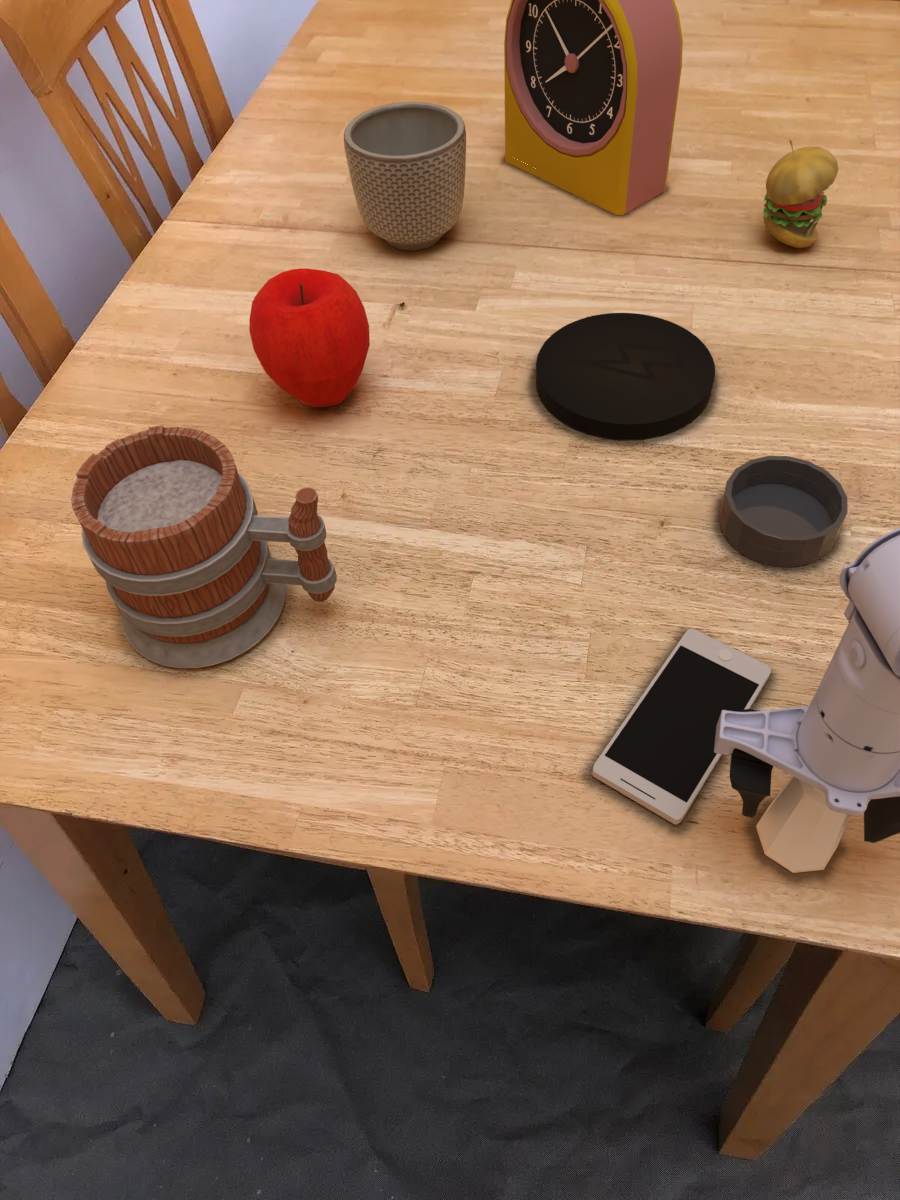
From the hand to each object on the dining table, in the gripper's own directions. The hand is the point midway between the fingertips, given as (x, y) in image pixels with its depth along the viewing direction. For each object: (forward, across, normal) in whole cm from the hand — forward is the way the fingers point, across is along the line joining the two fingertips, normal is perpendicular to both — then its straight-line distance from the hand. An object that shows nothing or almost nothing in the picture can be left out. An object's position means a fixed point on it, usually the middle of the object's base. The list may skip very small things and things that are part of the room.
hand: (808, 815), depth 61 cm
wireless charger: (+4, -18, +46) cm, 50 cm away
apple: (+4, -48, +38) cm, 62 cm away
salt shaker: (+4, 0, 0) cm, 4 cm away
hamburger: (+4, -4, +76) cm, 76 cm away
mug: (+4, -46, +10) cm, 48 cm away
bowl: (+3, -2, +30) cm, 30 cm away
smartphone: (+3, -8, +7) cm, 12 cm away
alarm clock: (+4, -30, +88) cm, 92 cm away
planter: (+4, -48, +70) cm, 84 cm away
